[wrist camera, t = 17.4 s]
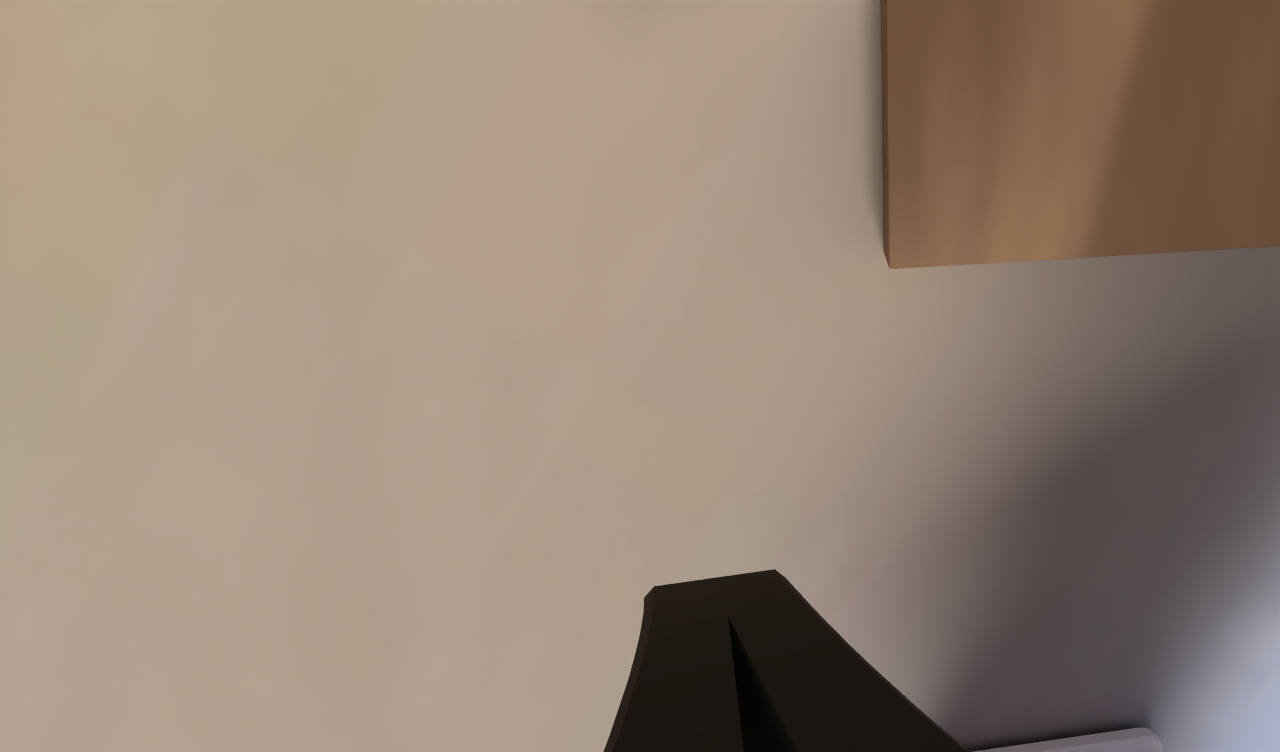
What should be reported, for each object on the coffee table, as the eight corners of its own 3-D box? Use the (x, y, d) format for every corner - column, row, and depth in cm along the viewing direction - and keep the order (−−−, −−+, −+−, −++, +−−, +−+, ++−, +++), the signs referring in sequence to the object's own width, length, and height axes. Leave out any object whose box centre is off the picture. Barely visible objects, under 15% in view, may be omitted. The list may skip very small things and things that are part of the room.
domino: (880, -4, 16) (1361, -66, 15) (884, 251, 18) (1316, 223, 16) (886, -10, 15) (1423, -79, 13) (889, 268, 17) (1366, 240, 15)
